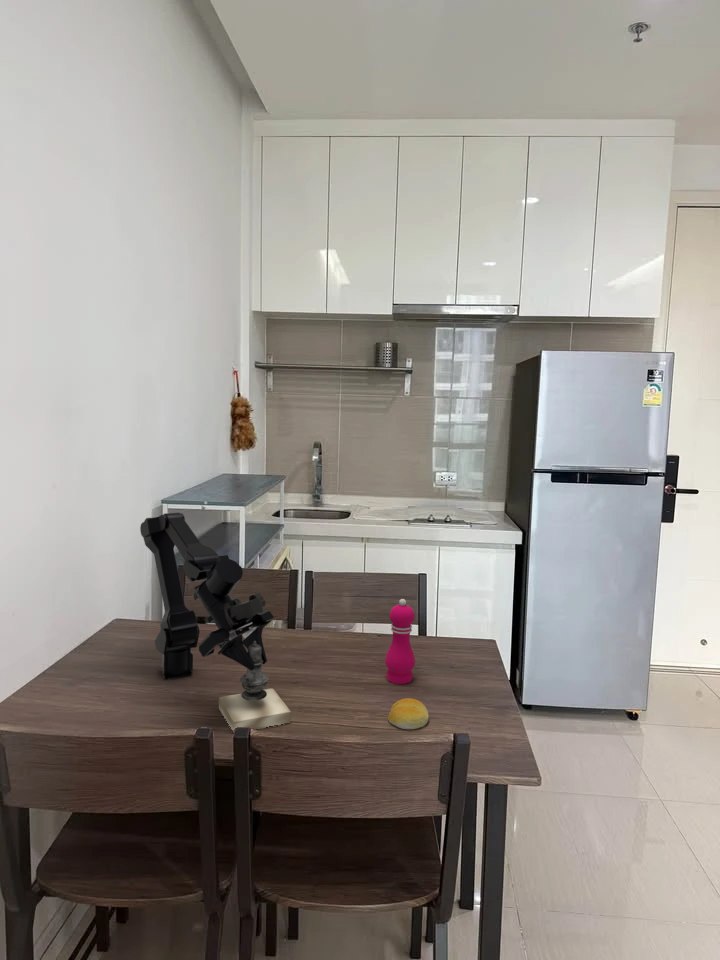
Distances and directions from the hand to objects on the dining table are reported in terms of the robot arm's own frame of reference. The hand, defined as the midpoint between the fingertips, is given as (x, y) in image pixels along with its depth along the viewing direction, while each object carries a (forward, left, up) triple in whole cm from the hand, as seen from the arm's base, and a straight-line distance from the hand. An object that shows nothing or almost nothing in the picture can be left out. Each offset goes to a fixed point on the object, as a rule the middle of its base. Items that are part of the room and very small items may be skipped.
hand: (259, 666), depth 134 cm
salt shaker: (-1, +1, -7) cm, 7 cm away
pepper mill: (+37, +6, -11) cm, 39 cm away
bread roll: (+29, -13, -12) cm, 33 cm away
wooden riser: (-1, +1, -11) cm, 11 cm away
